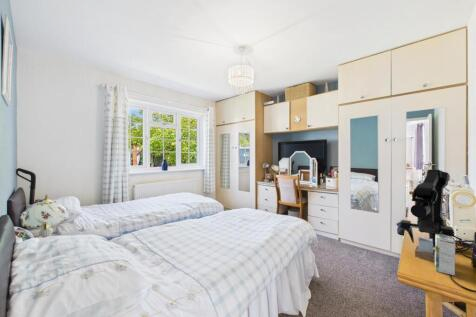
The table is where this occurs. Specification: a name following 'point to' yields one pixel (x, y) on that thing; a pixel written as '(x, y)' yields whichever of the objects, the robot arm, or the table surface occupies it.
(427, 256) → the walnut block
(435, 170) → the robot arm
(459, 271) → the table surface
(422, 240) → the painted cube
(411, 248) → the table surface
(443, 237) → the syrup box
